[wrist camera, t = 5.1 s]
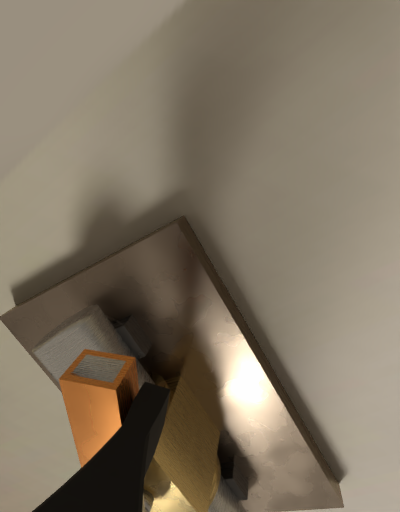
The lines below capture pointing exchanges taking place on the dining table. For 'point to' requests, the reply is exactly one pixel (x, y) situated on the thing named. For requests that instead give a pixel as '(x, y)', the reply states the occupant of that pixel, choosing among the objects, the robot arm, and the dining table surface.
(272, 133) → the dining table surface
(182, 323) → the valve manifold
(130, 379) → the valve lever
